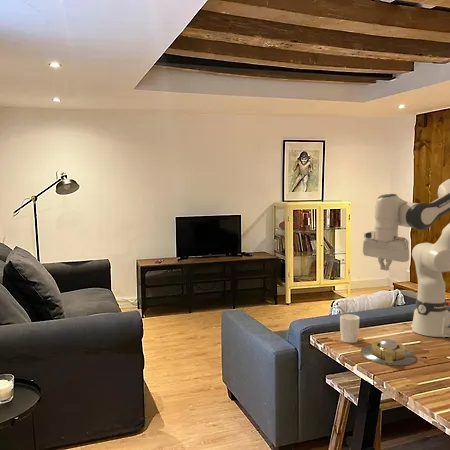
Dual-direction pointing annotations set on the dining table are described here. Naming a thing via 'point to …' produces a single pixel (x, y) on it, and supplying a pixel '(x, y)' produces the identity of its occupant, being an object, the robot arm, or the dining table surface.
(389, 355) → the ring nut
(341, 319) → the white cup
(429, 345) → the dining table surface
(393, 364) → the hub plate
